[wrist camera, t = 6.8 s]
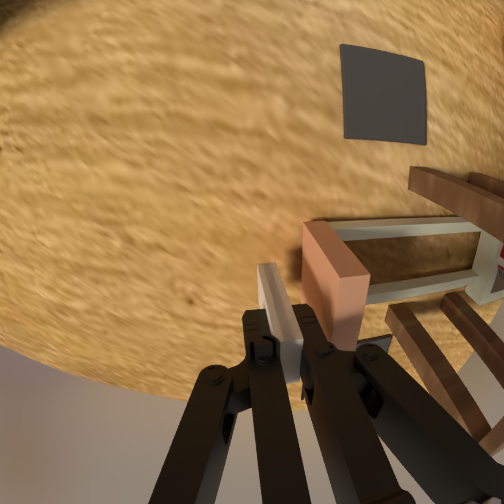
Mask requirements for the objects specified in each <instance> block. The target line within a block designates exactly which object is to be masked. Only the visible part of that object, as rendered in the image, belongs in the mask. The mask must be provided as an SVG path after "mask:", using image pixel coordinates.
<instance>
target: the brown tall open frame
mask: <svg viewBox="0 0 504 504" xmlns="http://www.w3.org/2000/svg"><path fill="white" fill-rule="evenodd" d="M408 189H409V190H411V191H413V192H415V193H417V194H419V195H421V196H423V197H425V198H427V199H429V200H431V201H433V202H435V203H436V204H438V205H440V206H442V207H444V208H446V209H448V210H449V211H451V212H453V213H455V214H457V215H458V216H460V217H462V218H464V219H465V220H467V221H469V222H470V223H472V224H474V225H475V226H477V227H479V228H480V229H482V230H484V231H485V232H487V233H488V234H490V235H492V236H493V237H495V238H496V239H498V240H499V241H501V242H502V243H504V182H502V181H499V180H497V179H494V178H491V177H489V176H486V175H484V174H481V173H473V172H470V174H469V183H467V182H464V181H462V180H459V179H457V178H454V177H452V176H449V175H446V174H444V173H441V172H438V171H435V170H432V169H430V168H425V167H412V166H410V171H409V185H408ZM440 310H441V311H442V312H443V313H444V314H445V315H446V316H447V317H448V319H449V320H450V321H451V322H452V323H453V324H454V326H455V327H456V328H457V329H458V330H459V332H460V333H461V334H462V335H463V336H464V338H465V339H466V340H467V341H468V342H469V344H470V345H471V346H472V347H473V349H474V350H475V351H476V352H477V354H478V355H479V356H480V358H481V359H482V360H483V362H484V363H485V364H486V365H487V367H488V368H489V369H490V371H491V372H492V373H493V375H494V376H495V377H496V379H497V380H498V382H499V383H500V385H501V386H502V387H503V389H504V343H503V342H502V340H501V339H500V338H499V337H498V336H497V335H496V333H495V332H494V331H493V330H492V329H491V328H490V327H489V326H488V325H487V323H486V322H485V321H484V320H483V319H482V318H481V317H480V316H479V315H478V314H477V313H476V312H475V311H474V310H473V309H472V308H471V307H470V306H469V305H468V304H467V303H466V302H465V301H464V300H463V299H462V298H461V297H460V296H459V295H458V294H457V293H456V292H454V293H449V294H445V295H444V298H443V301H442V304H441V307H440ZM385 322H386V323H387V325H388V326H389V328H390V330H391V331H392V333H393V334H394V336H395V337H396V339H397V340H398V342H399V344H400V345H401V347H402V348H403V350H404V351H405V353H406V355H407V356H408V358H409V359H410V361H411V363H412V364H413V366H414V368H415V369H416V371H417V373H418V374H419V376H420V378H421V379H422V381H423V383H424V384H425V386H426V388H427V390H428V391H429V393H430V395H431V396H432V397H433V398H434V399H435V400H436V401H437V402H438V403H439V404H440V405H441V406H442V407H443V408H444V409H445V410H446V411H447V412H448V413H449V414H450V415H451V416H452V417H453V418H454V419H455V420H456V421H457V422H458V423H459V424H460V425H461V426H462V427H463V428H464V429H465V430H466V431H467V432H468V433H469V434H470V435H471V436H472V437H473V439H474V440H475V441H476V442H477V443H478V444H479V445H480V446H481V447H482V448H483V449H484V450H485V451H486V452H487V453H488V454H489V455H490V456H491V457H492V456H494V455H495V454H496V453H498V452H499V451H500V450H502V449H503V448H504V417H503V418H502V419H501V420H500V421H499V422H498V423H497V425H495V427H494V428H493V429H491V427H490V425H489V424H488V422H487V420H486V419H485V417H484V415H483V414H482V412H481V411H480V409H479V407H478V405H477V404H476V402H475V401H474V399H473V397H472V396H471V394H470V393H469V391H468V390H467V388H466V387H465V385H464V384H463V382H462V380H461V379H460V378H459V376H458V375H457V373H456V372H455V370H454V369H453V367H452V366H451V364H450V363H449V362H448V360H447V359H446V357H445V356H444V354H443V353H442V352H441V350H440V349H439V348H438V346H437V345H436V343H435V342H434V341H433V339H432V338H431V337H430V335H429V334H428V333H427V331H426V330H425V329H424V327H423V326H422V325H421V323H420V322H419V321H418V320H417V318H416V317H415V316H414V314H413V313H412V312H411V311H410V309H409V308H408V307H407V306H406V304H405V303H400V304H395V305H389V306H388V310H387V314H386V318H385Z"/></svg>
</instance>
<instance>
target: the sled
mask: <svg viewBox="0 0 504 504" xmlns="http://www.w3.org/2000/svg"><path fill="white" fill-rule="evenodd" d="M478 231H481V235H480V239H479V243H478V248H477V251H476V255H475V259H474V263H473V266H472V269H469V270H464V271H458V272H453V273H447V274H441V275H435V276H429V277H422V278H416V279H410V280H403V281H396V282H389V283H382V284H375V285H369V281H370V275H371V274H370V273H369V272H368V271H367V269H366V268H365V267H364V266H363V264H362V263H361V262H360V261H359V260H358V258H357V257H356V256H355V255H354V254H353V252H352V251H351V250H350V249H349V248H348V246H347V245H346V244H345V243H344V242H343V241H351V240H365V239H378V238H392V237H406V236H420V235H435V234H449V233H464V232H478ZM503 245H504V243H502V242H501V241H499V240H498V239H496V238H495V237H493V236H492V235H490V234H488V233H487V232H485V231H484V230H482V229H480V228H479V227H477V226H475V225H474V224H472V223H470V222H469V221H467V220H465V219H464V218H462V217H431V218H402V219H378V220H356V221H337V222H326V221H310V222H303V248H302V281H301V304H305V303H307V304H308V305H309V306H310V307H311V308H313V310H314V312H315V314H316V317H317V319H318V321H319V323H320V325H321V327H322V330H323V332H324V334H325V336H326V338H327V341H329V342H331V343H333V344H334V345H335V346H336V348H337V349H339V350H344V351H355V349H356V344H357V340H358V336H359V332H360V327H361V323H362V318H363V313H364V308H365V305H368V304H375V303H381V302H387V301H393V300H399V299H404V298H410V297H415V296H420V295H426V294H431V293H436V292H440V291H445V290H450V289H455V288H459V287H463V286H466V289H465V292H466V293H467V294H468V295H469V296H470V297H471V298H472V299H473V300H474V301H475V302H476V303H477V304H478V305H483V304H486V303H489V302H492V301H495V300H498V299H501V298H504V280H503V279H502V278H500V277H499V276H498V275H497V272H498V261H499V256H500V253H501V250H502V247H503ZM496 275H497V276H496Z"/></svg>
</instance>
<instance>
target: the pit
mask: <svg viewBox="0 0 504 504" xmlns="http://www.w3.org/2000/svg"><path fill="white" fill-rule="evenodd" d="M339 46H340V58H341V71H342V88H343V114H344V138H345V139H363V140H378V141H390V142H401V143H411V144H419V145H425V142H426V101H425V80H424V67H423V61H421V60H418V59H414V58H410V57H407V56H403V55H399V54H394V53H390V52H386V51H381V50H376V49H371V48H365V47H359V46H353V45H346V44H341V45H339Z"/></svg>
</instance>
